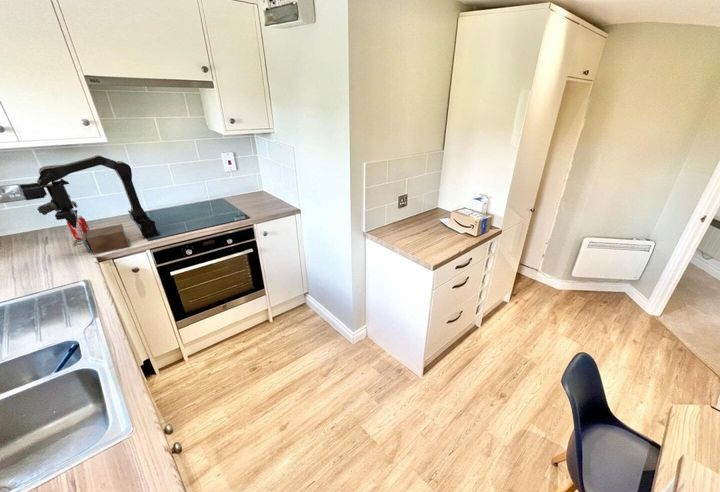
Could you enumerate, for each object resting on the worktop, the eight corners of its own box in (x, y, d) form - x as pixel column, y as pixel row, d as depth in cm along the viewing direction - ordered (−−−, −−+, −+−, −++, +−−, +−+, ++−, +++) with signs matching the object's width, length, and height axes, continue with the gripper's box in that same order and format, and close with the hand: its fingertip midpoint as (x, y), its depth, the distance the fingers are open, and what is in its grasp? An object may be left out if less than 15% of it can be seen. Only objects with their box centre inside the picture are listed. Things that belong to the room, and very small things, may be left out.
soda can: (96, 236, 172) (86, 215, 166) (81, 242, 166) (71, 220, 160) (86, 235, 173) (76, 214, 168) (71, 240, 167) (61, 219, 162)
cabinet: (93, 254, 155) (86, 238, 151) (94, 245, 163) (87, 230, 159) (129, 246, 163) (122, 231, 159) (127, 238, 171) (121, 224, 167)
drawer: (76, 255, 151) (69, 242, 148) (77, 247, 158) (71, 235, 155) (121, 246, 161) (116, 234, 158) (120, 239, 168) (115, 227, 165)
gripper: (36, 193, 146) (53, 224, 153) (30, 204, 133) (48, 238, 140) (70, 189, 152) (84, 219, 159) (67, 199, 140) (82, 232, 147)
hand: (74, 227), depth 151 cm, fingers closed
